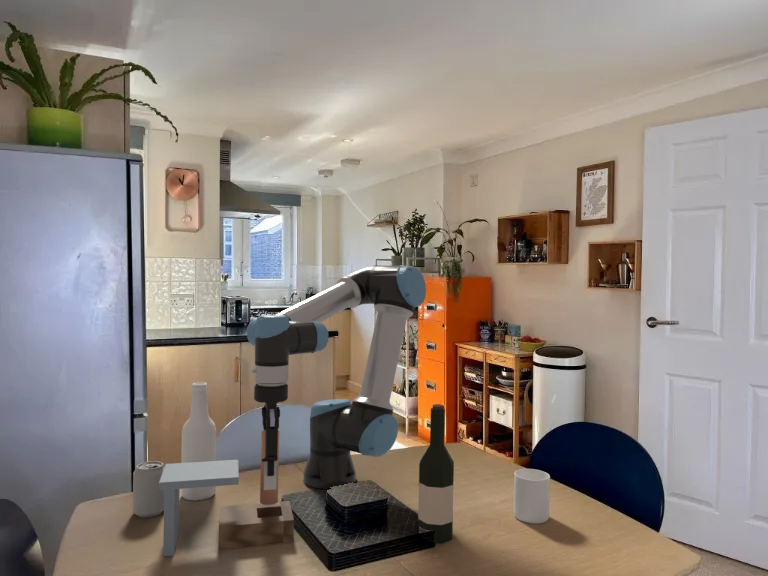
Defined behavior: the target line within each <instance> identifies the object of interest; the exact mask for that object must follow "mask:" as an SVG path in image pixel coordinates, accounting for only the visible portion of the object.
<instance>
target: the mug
mask: <svg viewBox="0 0 768 576" xmlns="http://www.w3.org/2000/svg"><path fill="white" fill-rule="evenodd" d="M550 475H551V474H549V473H548V472H545V471H543V470H540V469H535V468H520V469H518V470H517V469H516V470H515V471H514V477H513V478H514V479H513V480H514V481H513V515H514V517H515V518H516V519H517V520H519V521H521V522H524V523H527V524H535V525H537V524H543V523H547V521H548V520H549V518H550V502H551V501H550V500H551V499H550V497H551V496H550V491H551V476H550Z"/></svg>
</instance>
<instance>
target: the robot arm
mask: <svg viewBox="0 0 768 576" xmlns="http://www.w3.org/2000/svg"><path fill="white" fill-rule="evenodd" d="M426 295H427V284H426V280H425V278H424V275H423V273H422V272H421V271H420V269H419V268H418V267H415V266H413V265H405V264H401V265H376V264H375V265H370V266H367V267H364V268H360V269H358V270H356V271H354V272H351V273H349V274H347V275H345V276H343V277H341V278H339V279H338V280H337V282H336V284H335V285H333V286H330V287H328V288H327V289H324V290H323V291H320V292H318V293H316V294H315V295H312V296H311V297H309V298H306V299H304V300H302V301H300V302H298V303H296V304H294V305H291V307H288V308H286V309H284V310H282V311H280V312H278V313H275V314H263V315H262V314H261V315H259V316H258V317H257V318H254V319H252V320H251V321H250V322H249V324H247V327H246V337H247V338H246V339H247V340H248V342H249V343H250V344H251V345H252V346H254V364H255V365H254V367H255V368H252V369H251V373H253V374H254V381H255V385H254V387H253V388H254V390H253V391H254V392H253V393H254V394H253V398H254V401H255V402H257V403H262V404H264V405H263V407H261V417H262V418H261V419H262V428H263V430H265V459H262V462H264V490H272V489H276V475H277V459H278V456H277V447H278V430H279V429H280V417H281V409H280V406H278V403H284V402H286V401H287V400H288V396H289V385H288V383H287V382H288V381H289V360H290V359H289V358H290V356H291V355H301V354H310V353H311V354H314V353H317V352H321V351H323V350H324V349H325V348H326V347H327V346H328V343H329V331H328V329H327V326H326V325H325V324H324V323H322V322H324V321H325V320H328V319H330V318H331V317H333V316H335V315H336V314H339V313H341V312H342V311H345V310H346V309H348V308H349V309H355V308H357V307H359V306H361V305H373V307H374V309H375V311H376V313H377V315H376V319H375V323H374V328H373V333H372V337H371V342H370V345H369V351H368V356H367V358H366V359H367V360H366V364H365V369H364V373H363V378H362V381H361V382H362V383H361V388H360V391H359V395H358V396H357V397H355V398H353V399H352V401H351V400H350V399H348V398H335V399H333V398H332V399H325V400H319V401H317V402H314V403H313V404H312V405H311V406H310V407H311V408H310V416H309V455H308V459H307V461H306V464H305V467H304V469H303V470H304V471H303V478H302V479H303V483H304V484H305V485H307V486H309V487H311V488H315V489H321V488H323V489H321V490H328V489H327V488H330V487H333V486H339V485H344V484H348V483H352V482H354V483H355V482H356V480H357V479H356V478H357V473H356V472H357V471H356V468H355V465H354V461H353V459H352V455H351V452H354V453H357V454H361V455H362V456H367V457H374V458H379V457H382V456H385V454H387V453H388V452H389V451H390V450H391V449H392V447H393V446H394V444H395V442H396V440H397V438H398V434H399V433H398V432H399V426H398V421H397V419H396V418H395V416H393V413H394V407H393V406H392V405H391V403H390V401H391V396H392V391H393V386H394V381H395V377H396V373H397V368H398V363H399V358H400V355H401V354H400V353H401V350H402V344H403V339H404V334H405V330H406V326H407V325H406V324H407V320H408V319H409V318H411V317H413V316H414V312H415V308H417V307H420V306H421V305H422V304H423V303H424V301H425V300H426V297H427V296H426Z"/></svg>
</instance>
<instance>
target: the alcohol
mask: <svg viewBox="0 0 768 576" xmlns="http://www.w3.org/2000/svg"><path fill="white" fill-rule="evenodd" d="M208 403H209V400H208V383H207V382H205V381H204V382H203V381H198V382H193V383H191V401H190V413H189V417H188V419H187V420H186V421H185V423H184V424H183V426H182V429H181V449H180V453H181V455H180V456H181V460H180V461H181V462H180V463H190V462H206V461H217V426H216V423H215V422H214V420H213V419H212V418H211V417H210V414H209V404H208ZM216 488H217V486H211V487H197V488H183V489H180V495H181V497H182V498H183V500H185V499H186V501H189V500H193V501H192V502H198V501H199V500H200V501H204V499H205V500H208V499H211V498H212V497H213V496H214V494H215V493H216V491H217V490H216ZM197 500H198V501H197ZM200 501H199V502H200Z"/></svg>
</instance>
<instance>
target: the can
mask: <svg viewBox="0 0 768 576" xmlns="http://www.w3.org/2000/svg"><path fill="white" fill-rule="evenodd" d="M135 468H136V469H135V470H134V471H133V473H132V513H133V514H134V515H136V516H137V517H139V518H144V519H145V518H152V517H156V516H159V515H161V514H162V513H163V512H164V490H159V481H160V479H161V476H162V473H163V470H164V468H165V466H164V463H163V462H162V461H159V460H151V461H149V460H148V461H145V462H140V463H139V464H137V465H136V467H135Z"/></svg>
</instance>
